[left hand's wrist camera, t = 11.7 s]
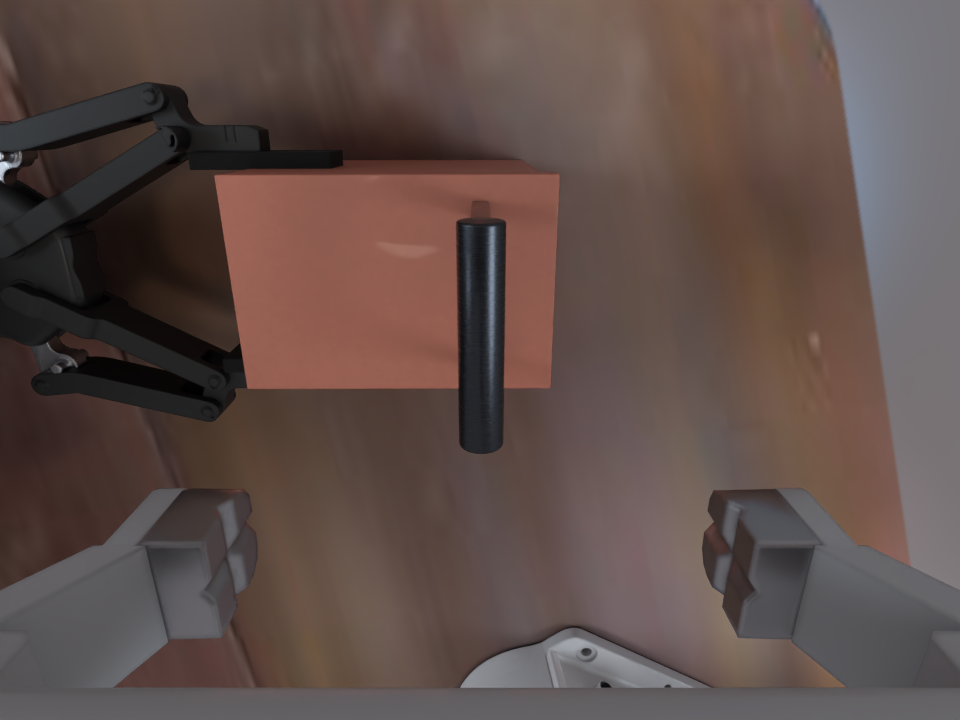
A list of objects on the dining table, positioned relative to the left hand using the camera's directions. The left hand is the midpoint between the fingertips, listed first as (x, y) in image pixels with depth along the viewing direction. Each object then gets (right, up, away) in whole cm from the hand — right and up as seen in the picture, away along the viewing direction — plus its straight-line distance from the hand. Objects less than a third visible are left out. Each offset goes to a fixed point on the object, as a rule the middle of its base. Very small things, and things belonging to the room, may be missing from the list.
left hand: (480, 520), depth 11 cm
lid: (-4, +6, +16) cm, 18 cm away
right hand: (-7, +8, +20) cm, 23 cm away
